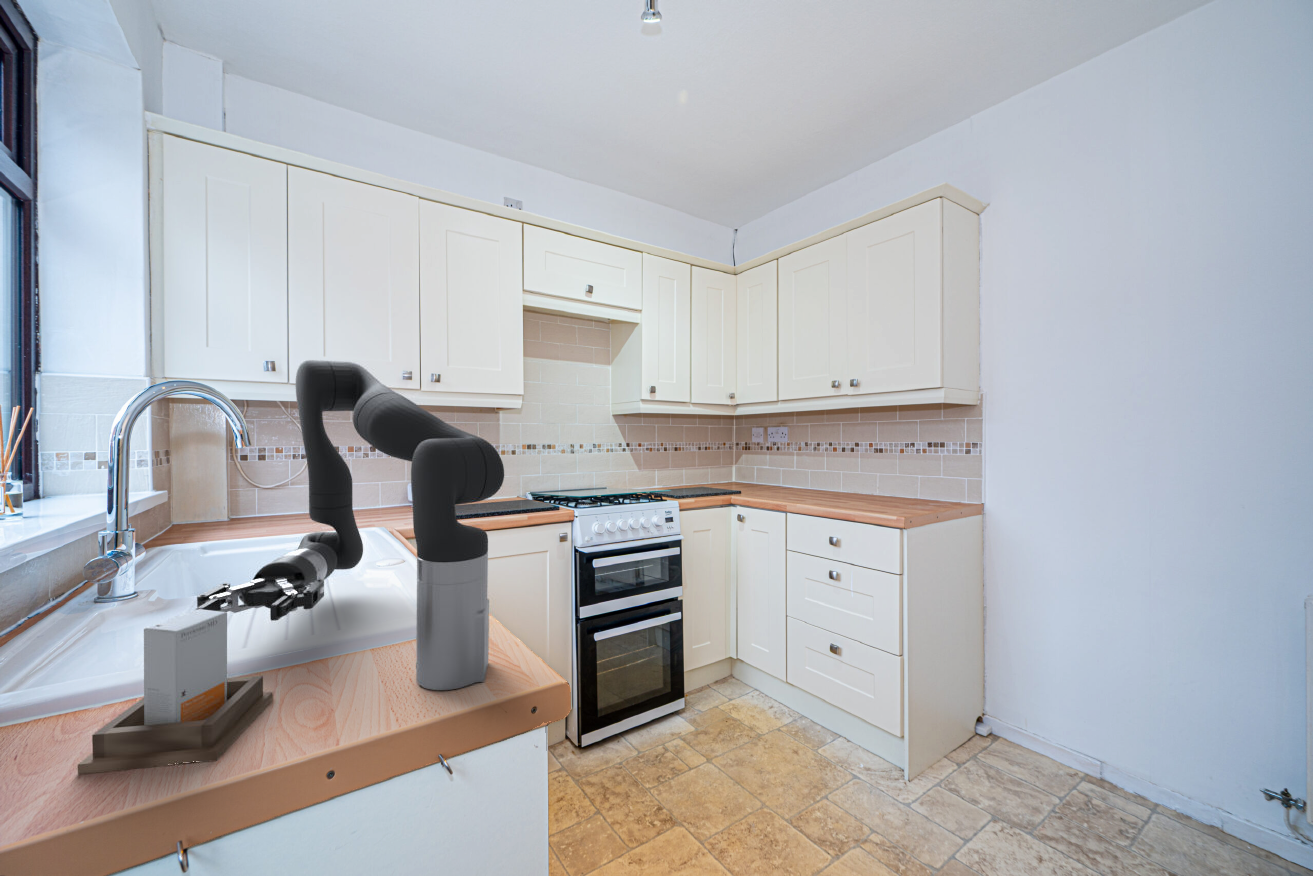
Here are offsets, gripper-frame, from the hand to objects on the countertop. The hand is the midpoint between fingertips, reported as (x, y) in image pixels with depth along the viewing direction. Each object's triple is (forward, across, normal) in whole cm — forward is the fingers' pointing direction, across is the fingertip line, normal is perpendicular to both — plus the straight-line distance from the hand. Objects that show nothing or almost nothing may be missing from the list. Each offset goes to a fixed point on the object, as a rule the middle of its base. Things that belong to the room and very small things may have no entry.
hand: (236, 615), depth 70 cm
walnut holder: (+10, 0, +10) cm, 14 cm away
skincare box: (+10, 0, +9) cm, 13 cm away
